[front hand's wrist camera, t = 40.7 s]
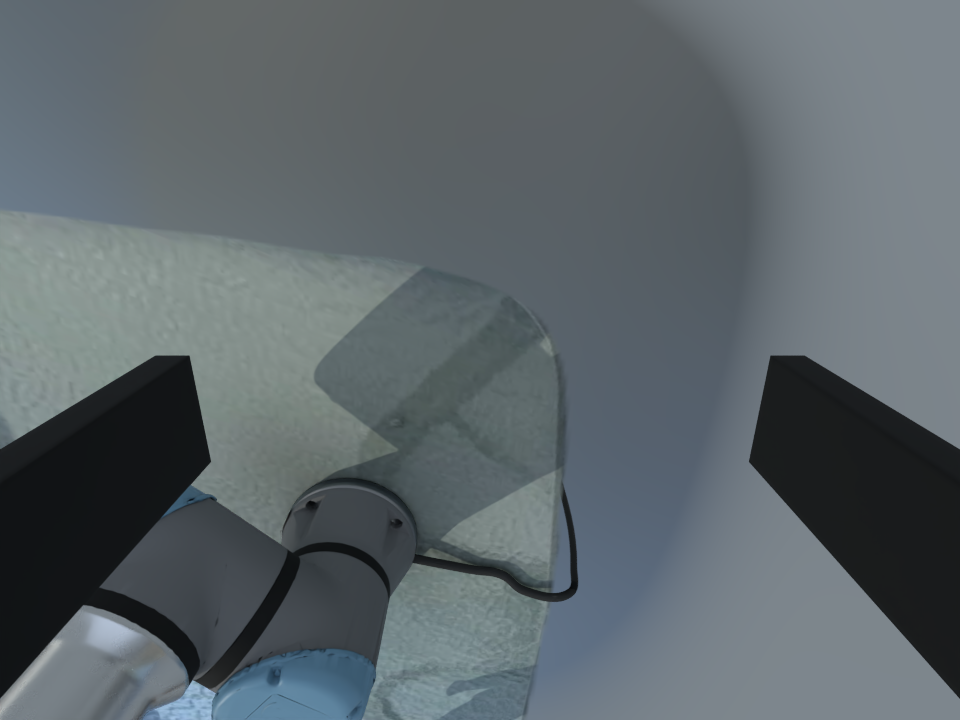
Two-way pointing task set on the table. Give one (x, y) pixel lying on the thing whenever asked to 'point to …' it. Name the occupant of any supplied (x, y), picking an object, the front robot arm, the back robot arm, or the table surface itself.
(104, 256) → the table surface
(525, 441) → the table surface
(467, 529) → the table surface
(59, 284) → the table surface
